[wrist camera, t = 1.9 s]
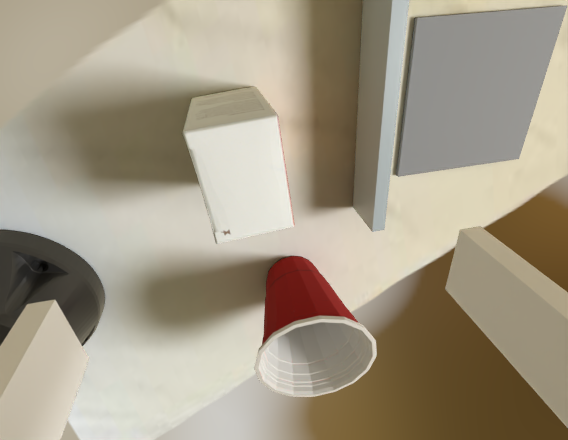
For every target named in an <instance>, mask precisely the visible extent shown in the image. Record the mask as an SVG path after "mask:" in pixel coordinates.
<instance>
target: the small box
mask: <svg viewBox="0 0 568 440" xmlns="http://www.w3.org/2000/svg"><path fill="white" fill-rule="evenodd" d="M183 137H184V139H185V142H186V145H187V147H188V150H189V153H190V156H191V159H192V162H193V165H194V168H195V172H196V175H197V178H198V182H199V185H200V188H201V191H202V195H203V198H204V201H205V205H206V208H207V211H208V215H209V218H210V222H211V226H212V230H213V233H214V237H215V242H216V244H220V243H224V242H229V241H234V240H238V239H243V238H247V237H252V236H256V235H260V234H265V233H269V232H274V231H278V230H283V229H286V228H291V227H294V225H295V224H294V218H293V212H292V205H291V198H290V191H289V185H288V178H287V172H286V165H285V159H284V152H283V146H282V138H281V132H280V126H279V119H278V115H277V113H276V112H275V111H274V109H273V108H272V107H271V106H270V104H269V103H268V102H267V101H266V99H265V98H264V97H263V95H262V94H261V93H260V91H259V90H258V89H257V87H249V88H243V89H237V90H231V91H226V92H221V93H215V94H210V95H204V96H199V97H194V98H192V99H191V103H190V106H189V110H188V114H187V118H186V122H185V125H184V129H183Z"/></svg>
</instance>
